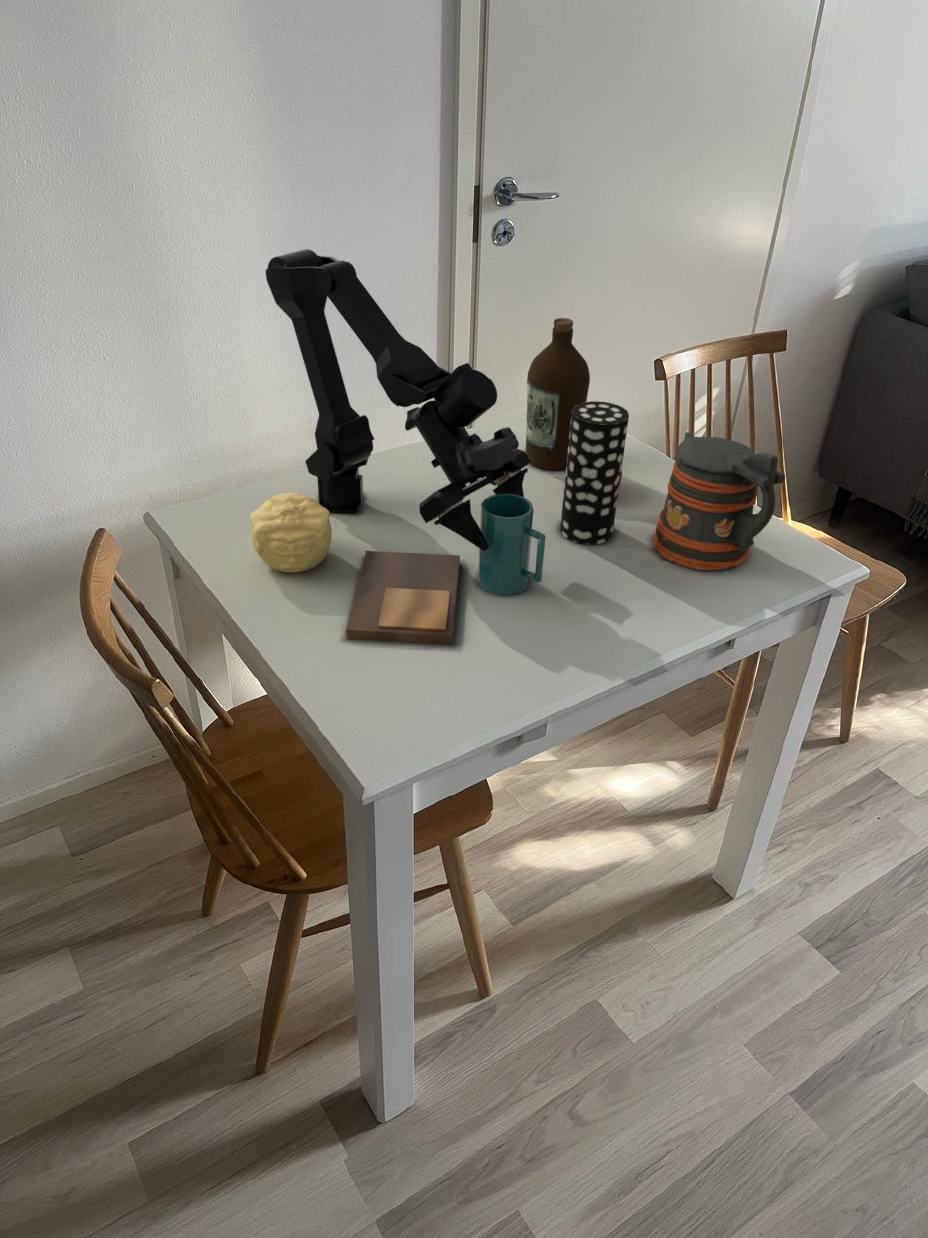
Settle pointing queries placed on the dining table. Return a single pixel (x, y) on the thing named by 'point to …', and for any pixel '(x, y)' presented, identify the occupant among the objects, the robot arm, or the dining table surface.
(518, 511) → the teal coffee mug
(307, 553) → the sculpture
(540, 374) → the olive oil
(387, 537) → the dining table surface
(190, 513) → the dining table surface
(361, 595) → the board
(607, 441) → the spotted tube
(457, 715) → the dining table surface
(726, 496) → the beer stein
